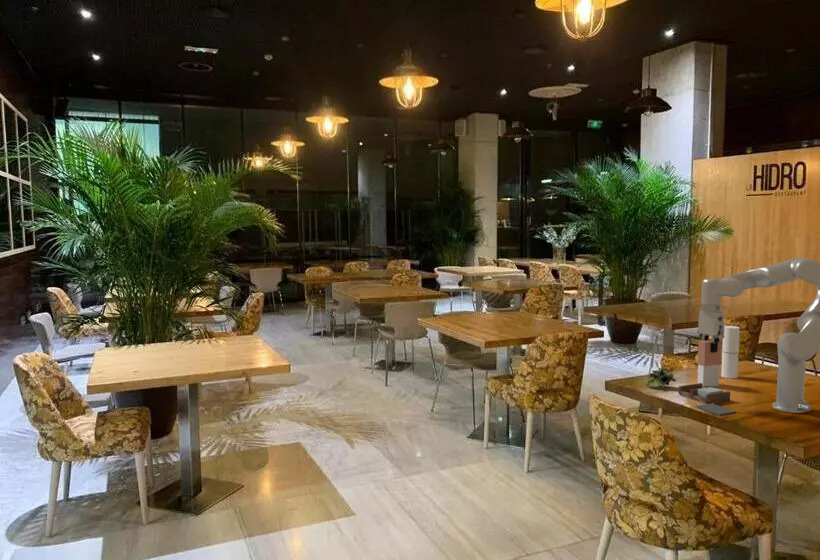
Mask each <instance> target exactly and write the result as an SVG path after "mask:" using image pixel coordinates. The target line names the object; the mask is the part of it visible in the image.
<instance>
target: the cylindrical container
mask: <svg viewBox="0 0 820 560" xmlns="http://www.w3.org/2000/svg"><path fill="white" fill-rule="evenodd" d="M724 327H725V332H724V337H725V338H723V339H722V348H721V374H720V375H721V378H724V377H725V378H726V379H731V378H735V379H738V373H739V351H740V350H739V349H740V346H739V345H740V344H739V343H740V330H741V329H740V327H739V326H734V325H724Z"/></svg>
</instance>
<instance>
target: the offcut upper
mask: <svg viewBox="0 0 820 560" xmlns="http://www.w3.org/2000/svg"><path fill="white" fill-rule="evenodd" d="M707 387H708V388H706V387H703V388H702V389H698V393H697V395H700V396H703V397H706V395H707V394H713V393H720V392H724V390H722V389H719V388H717V387H715V388H713V387H709V386H707Z"/></svg>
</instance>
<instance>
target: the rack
mask: <svg viewBox="0 0 820 560" xmlns="http://www.w3.org/2000/svg"><path fill="white" fill-rule="evenodd" d="M708 387H709V386H705V388H708ZM702 388H704V386H703V384H702V383H698V382H697V383H692V384H685V385H679V386H678V395H679V394H680V395H683V396H682V397H684V396H686V397H685V398H687V397H688V398H687V399H690V398H691V399H690V400H693V399H694V400H693V401H696V400H697V402H699V401H700V402H699V403H702V402H703V403H702V404H705V403H706V404H711V403H713V404H718V403H717V402H719V403H724V402H723V401H726V402H731V391H729V390H728V391H727V390H725V391H723V392H720V393H713V394H707V395H706V398H703V397H700V396H698V395H697V393H698V389H702ZM713 388H716V387H713ZM680 395H679V396H680Z"/></svg>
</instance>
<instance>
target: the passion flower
mask: <svg viewBox="0 0 820 560" xmlns="http://www.w3.org/2000/svg"><path fill="white" fill-rule="evenodd" d="M671 381H672V382H675V383H676V382H677V379H675V376H674V374H673V373H672V372H670V371H669V370H668V368H665V367H661V368H660V367H659V368H658V369H655V370H654V369H652V372H649V375H648V377H647V381H646V382H645V386H646V387H647V386H648V385H649V386H651V385H653V384H655V383H657V386H658V387H661V389H663V388H664V387H665V386H666V385H667V386H669V385H670V383H671ZM649 386H648V387H649Z"/></svg>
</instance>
